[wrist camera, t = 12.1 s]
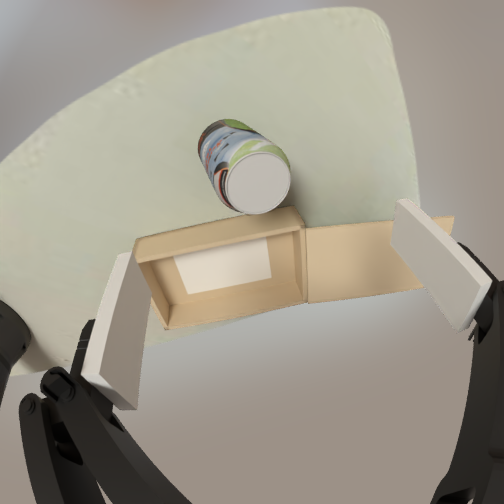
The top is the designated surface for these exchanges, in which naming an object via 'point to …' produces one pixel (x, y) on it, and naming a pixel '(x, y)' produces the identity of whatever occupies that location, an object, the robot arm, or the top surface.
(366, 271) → the lid
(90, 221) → the top surface
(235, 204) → the beverage can
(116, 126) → the top surface
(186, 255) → the box
